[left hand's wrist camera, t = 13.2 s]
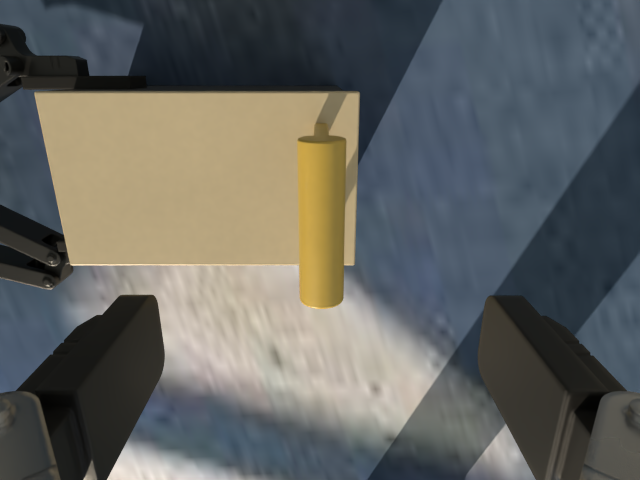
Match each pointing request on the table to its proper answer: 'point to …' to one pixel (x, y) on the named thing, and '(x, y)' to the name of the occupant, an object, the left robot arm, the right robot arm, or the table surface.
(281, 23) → the table surface
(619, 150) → the table surface
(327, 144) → the lid
